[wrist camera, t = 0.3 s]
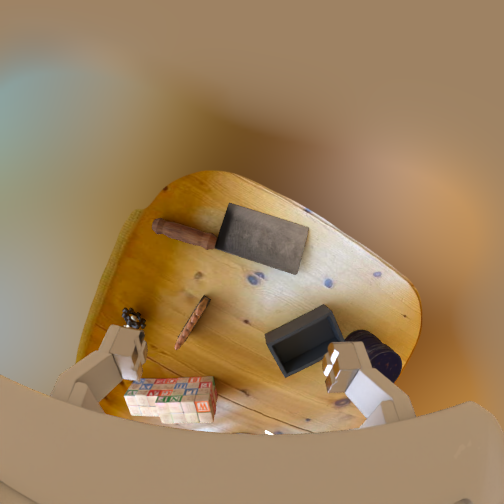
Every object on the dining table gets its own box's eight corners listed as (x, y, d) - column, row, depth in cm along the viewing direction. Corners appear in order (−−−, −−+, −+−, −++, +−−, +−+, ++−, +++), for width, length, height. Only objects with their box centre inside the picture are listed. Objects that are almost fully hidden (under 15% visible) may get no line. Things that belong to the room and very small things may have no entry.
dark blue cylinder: (380, 332, 66) (408, 353, 51) (368, 366, 67) (392, 392, 52) (347, 326, 66) (371, 348, 51) (335, 362, 66) (354, 390, 52)
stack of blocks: (141, 397, 66) (126, 421, 54) (135, 378, 66) (118, 400, 53) (218, 395, 66) (213, 423, 54) (213, 375, 66) (208, 401, 54)
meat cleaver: (309, 227, 64) (313, 226, 60) (294, 275, 65) (297, 277, 61) (168, 186, 63) (163, 183, 59) (154, 233, 64) (148, 232, 60)
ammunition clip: (188, 335, 65) (177, 355, 53) (181, 331, 65) (169, 350, 53) (211, 299, 65) (203, 313, 53) (204, 295, 65) (195, 307, 53)
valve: (126, 353, 65) (150, 321, 65) (116, 364, 58) (141, 330, 58) (107, 337, 65) (129, 304, 64) (96, 345, 58) (119, 310, 58)
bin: (338, 336, 66) (347, 346, 59) (281, 365, 66) (285, 378, 60) (323, 303, 65) (331, 311, 59) (264, 334, 66) (266, 344, 59)
